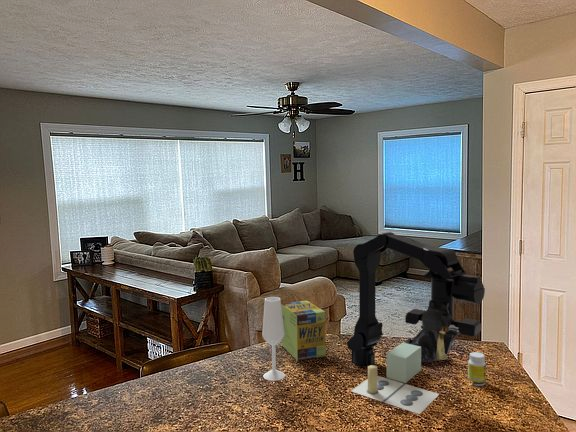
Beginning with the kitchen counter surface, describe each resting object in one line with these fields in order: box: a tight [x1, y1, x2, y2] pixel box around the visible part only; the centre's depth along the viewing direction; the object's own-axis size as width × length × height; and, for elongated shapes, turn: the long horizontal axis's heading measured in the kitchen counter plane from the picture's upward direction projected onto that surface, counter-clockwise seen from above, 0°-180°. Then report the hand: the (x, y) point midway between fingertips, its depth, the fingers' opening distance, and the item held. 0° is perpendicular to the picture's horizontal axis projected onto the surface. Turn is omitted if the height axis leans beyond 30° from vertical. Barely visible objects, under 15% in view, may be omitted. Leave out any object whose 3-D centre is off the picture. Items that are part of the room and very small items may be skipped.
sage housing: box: [385, 342, 422, 384], centre depth 138 cm, size 6×11×8 cm, turn 141°
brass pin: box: [436, 330, 448, 361], centre depth 125 cm, size 3×3×7 cm
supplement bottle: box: [467, 351, 487, 387], centre depth 134 cm, size 5×5×8 cm
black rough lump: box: [404, 328, 440, 363], centre depth 154 cm, size 13×14×10 cm
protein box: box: [281, 300, 326, 362], centre depth 160 cm, size 10×15×16 cm
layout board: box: [350, 365, 440, 415], centre depth 126 cm, size 20×13×8 cm, turn 51°
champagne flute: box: [261, 296, 286, 382], centre depth 140 cm, size 7×7×24 cm
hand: (441, 352), depth 125 cm, fingers closed on brass pin, 3 cm apart
